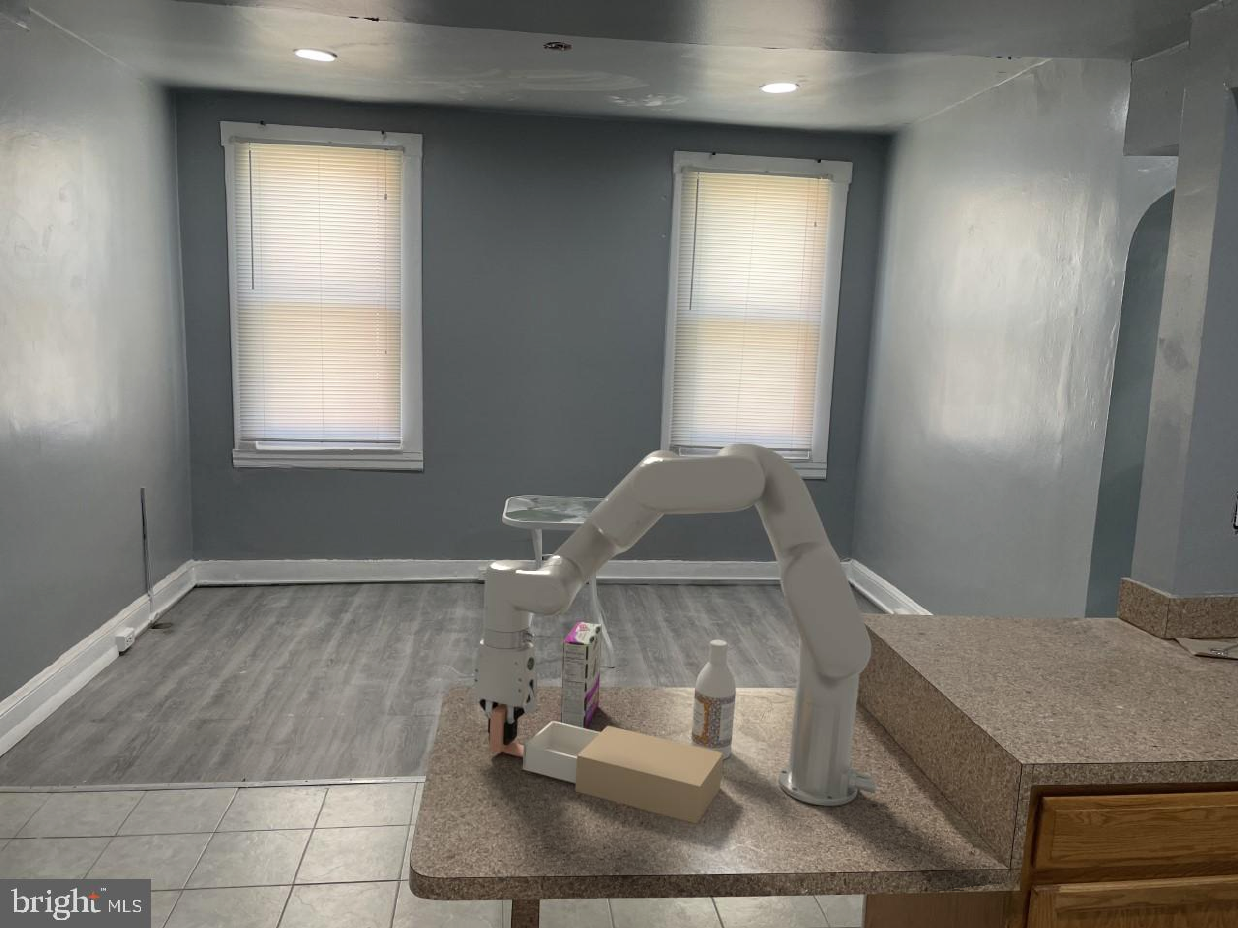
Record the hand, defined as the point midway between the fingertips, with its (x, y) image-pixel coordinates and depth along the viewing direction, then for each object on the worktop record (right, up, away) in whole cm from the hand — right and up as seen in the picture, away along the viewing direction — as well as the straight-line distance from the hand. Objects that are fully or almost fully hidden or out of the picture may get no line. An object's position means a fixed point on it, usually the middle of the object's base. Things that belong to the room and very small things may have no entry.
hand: (502, 739), depth 157 cm
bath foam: (+35, -4, +4) cm, 36 cm away
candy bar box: (+12, -1, +16) cm, 20 cm away
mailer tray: (+12, -3, -4) cm, 13 cm away
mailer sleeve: (+24, -5, -10) cm, 27 cm away
